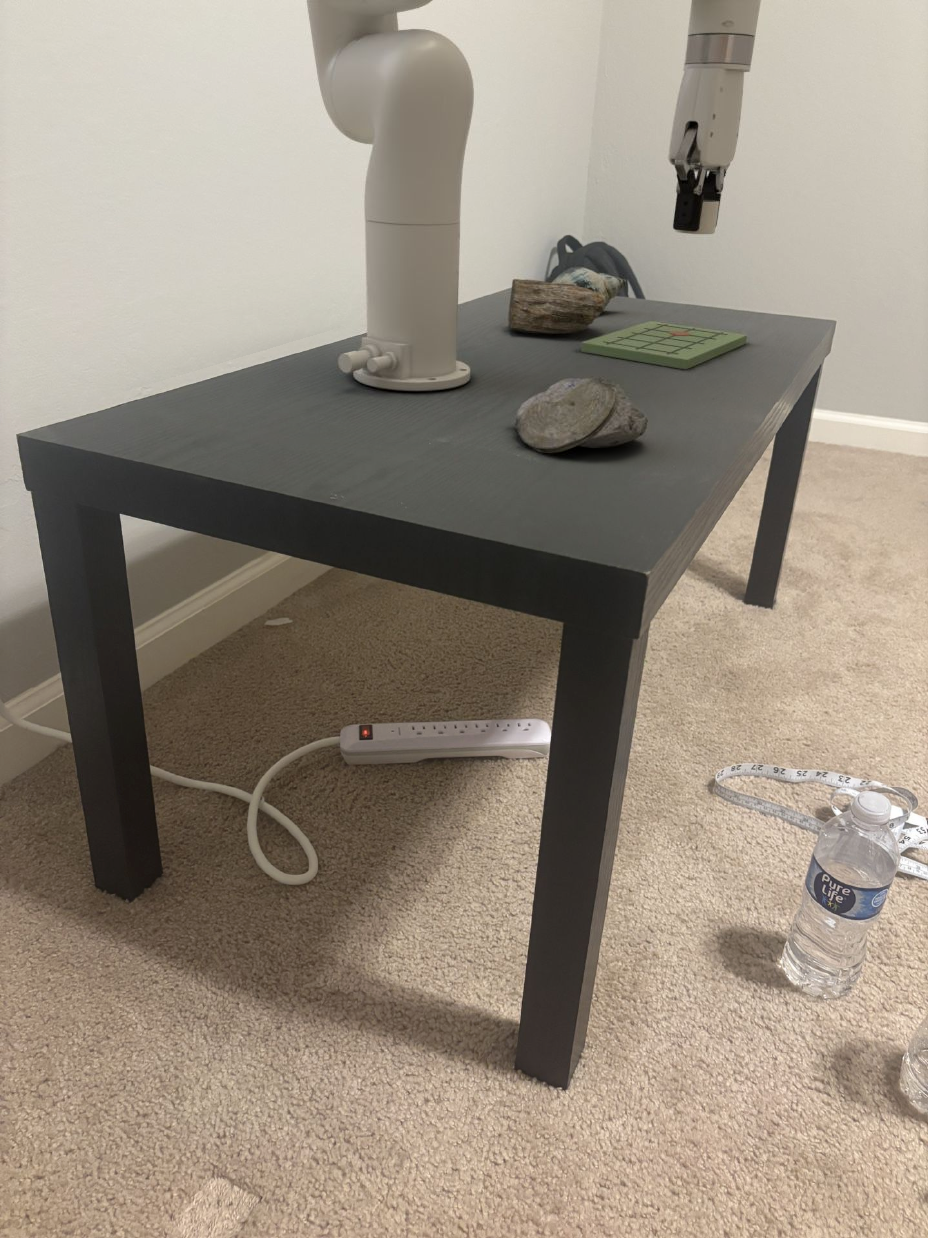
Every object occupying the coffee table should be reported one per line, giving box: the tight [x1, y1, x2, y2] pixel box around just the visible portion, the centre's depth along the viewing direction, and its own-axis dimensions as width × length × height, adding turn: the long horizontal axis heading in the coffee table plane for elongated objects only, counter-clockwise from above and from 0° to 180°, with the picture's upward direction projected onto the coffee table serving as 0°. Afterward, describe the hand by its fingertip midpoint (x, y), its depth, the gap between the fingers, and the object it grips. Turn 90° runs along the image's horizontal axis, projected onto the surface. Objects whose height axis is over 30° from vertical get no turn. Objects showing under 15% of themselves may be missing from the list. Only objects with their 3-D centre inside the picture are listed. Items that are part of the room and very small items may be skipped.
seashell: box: [551, 266, 627, 308], centre depth 136 cm, size 6×8×12 cm
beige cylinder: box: [674, 199, 720, 235], centre depth 111 cm, size 5×5×4 cm
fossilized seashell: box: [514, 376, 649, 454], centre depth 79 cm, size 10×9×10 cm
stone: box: [507, 278, 606, 335], centre depth 122 cm, size 14×10×10 cm
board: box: [580, 320, 748, 370], centre depth 116 cm, size 20×14×1 cm
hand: (694, 226), depth 112 cm, fingers closed on beige cylinder, 4 cm apart
